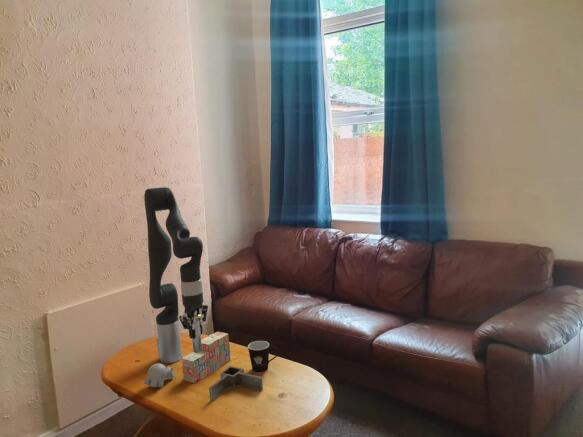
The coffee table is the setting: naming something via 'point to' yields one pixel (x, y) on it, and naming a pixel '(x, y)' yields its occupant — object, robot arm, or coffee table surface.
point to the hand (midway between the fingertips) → (196, 336)
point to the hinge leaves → (234, 381)
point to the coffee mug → (260, 355)
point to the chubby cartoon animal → (158, 375)
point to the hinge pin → (197, 334)
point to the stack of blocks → (207, 357)
